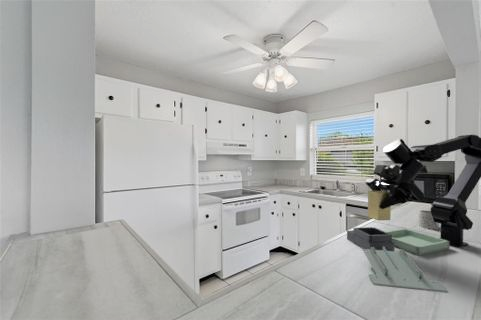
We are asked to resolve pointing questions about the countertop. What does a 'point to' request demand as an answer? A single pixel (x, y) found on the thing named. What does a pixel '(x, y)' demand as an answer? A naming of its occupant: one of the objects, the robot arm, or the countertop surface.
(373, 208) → the tan note paper block
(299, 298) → the countertop surface
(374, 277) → the metal bracket
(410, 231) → the parts tray
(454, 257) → the countertop surface
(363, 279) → the countertop surface
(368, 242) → the dark grey stepped fixture
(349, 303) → the countertop surface
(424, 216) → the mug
